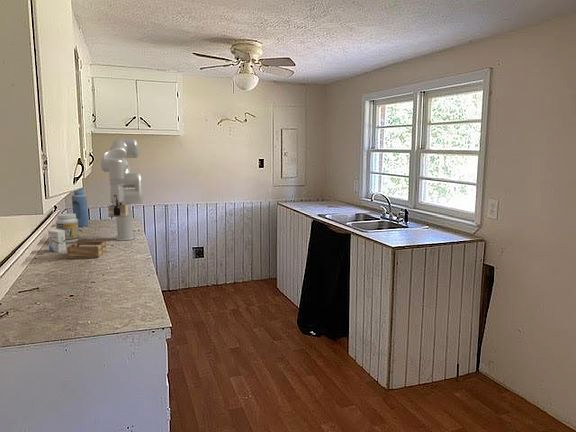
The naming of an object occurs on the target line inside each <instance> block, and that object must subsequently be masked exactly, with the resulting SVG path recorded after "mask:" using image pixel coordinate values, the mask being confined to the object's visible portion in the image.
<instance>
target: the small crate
mask: <svg viewBox="0 0 576 432" xmlns="http://www.w3.org/2000/svg"><path fill="white" fill-rule="evenodd" d="M128 207H129V204H128V205H119V208H120V215H119V216H114V208H113V204H109V205H108V208H107V209H108V218H116V217H126V216H128Z"/></svg>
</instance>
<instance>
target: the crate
mask: <svg viewBox="0 0 576 432" xmlns="http://www.w3.org/2000/svg"><path fill="white" fill-rule="evenodd" d="M66 251H67V252H66V253H67V259H69V260H70V259H71V260H72V259H99V258H101V256H103V255H104V254H105V253H106V252H107V240H101V241H100V240H94V241H93V240H91V241H89V240H88V241H76V242H73V243H72V244H70V245H69V246H67V247H66Z"/></svg>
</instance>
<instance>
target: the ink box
mask: <svg viewBox="0 0 576 432" xmlns="http://www.w3.org/2000/svg"><path fill="white" fill-rule="evenodd" d="M47 234H48V235H47V236H48V250H49V251H50V252H55V253H62V252H65V251H67V247H66V246H67V245H66V244H67V243H65V231H64V230H59V229H57V228H54V229H50V230H48V231H47Z"/></svg>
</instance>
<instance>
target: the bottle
mask: <svg viewBox="0 0 576 432" xmlns="http://www.w3.org/2000/svg"><path fill="white" fill-rule="evenodd" d="M71 203H72V213H74V214H76V218H77V219H78V228H83V226H85V227H88V226H89V214H88V213H89V211H88V199H87V195H86V194H85V192H84V186H83V187H82V188H81V189H79V190H77V191H74V190H73V195H71Z"/></svg>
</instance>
